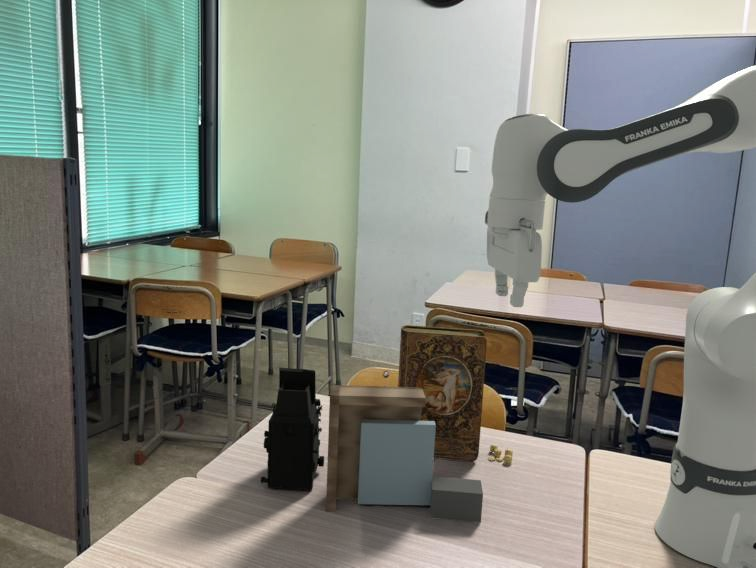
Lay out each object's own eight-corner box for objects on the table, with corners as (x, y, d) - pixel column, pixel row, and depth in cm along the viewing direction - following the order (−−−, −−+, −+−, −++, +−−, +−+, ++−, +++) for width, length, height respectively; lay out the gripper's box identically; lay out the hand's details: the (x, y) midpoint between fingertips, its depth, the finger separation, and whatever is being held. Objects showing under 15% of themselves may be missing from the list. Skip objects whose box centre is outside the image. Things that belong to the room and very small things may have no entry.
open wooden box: (415, 497, 102) (421, 387, 99) (418, 512, 97) (425, 397, 94) (327, 495, 101) (330, 385, 98) (325, 511, 97) (329, 395, 93)
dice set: (490, 452, 122) (491, 444, 122) (515, 458, 120) (516, 449, 120) (484, 462, 118) (485, 453, 117) (510, 468, 116) (511, 459, 115)
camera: (327, 458, 115) (330, 357, 112) (317, 494, 102) (321, 380, 98) (275, 455, 115) (277, 354, 112) (259, 491, 102) (261, 377, 99)
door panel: (429, 500, 101) (434, 421, 98) (430, 505, 99) (435, 424, 97) (357, 498, 100) (361, 419, 98) (357, 504, 98) (361, 423, 96)
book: (393, 455, 118) (400, 331, 114) (395, 443, 123) (402, 324, 119) (478, 462, 116) (487, 337, 112) (476, 450, 122) (485, 330, 118)
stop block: (478, 508, 100) (480, 480, 99) (480, 523, 95) (483, 493, 95) (430, 504, 100) (432, 476, 100) (430, 518, 96) (432, 489, 95)
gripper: (556, 222, 88) (547, 314, 90) (517, 215, 108) (511, 290, 110) (513, 220, 87) (505, 313, 89) (482, 213, 107) (477, 289, 110)
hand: (508, 300), depth 100 cm, fingers open, 8 cm apart
